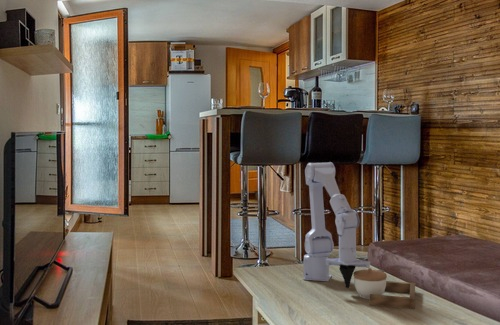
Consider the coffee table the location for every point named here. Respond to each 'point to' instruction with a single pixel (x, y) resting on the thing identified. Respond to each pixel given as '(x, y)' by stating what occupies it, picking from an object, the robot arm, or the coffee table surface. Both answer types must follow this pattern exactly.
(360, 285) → the lidded jar
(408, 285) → the walnut shelf
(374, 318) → the coffee table surface
